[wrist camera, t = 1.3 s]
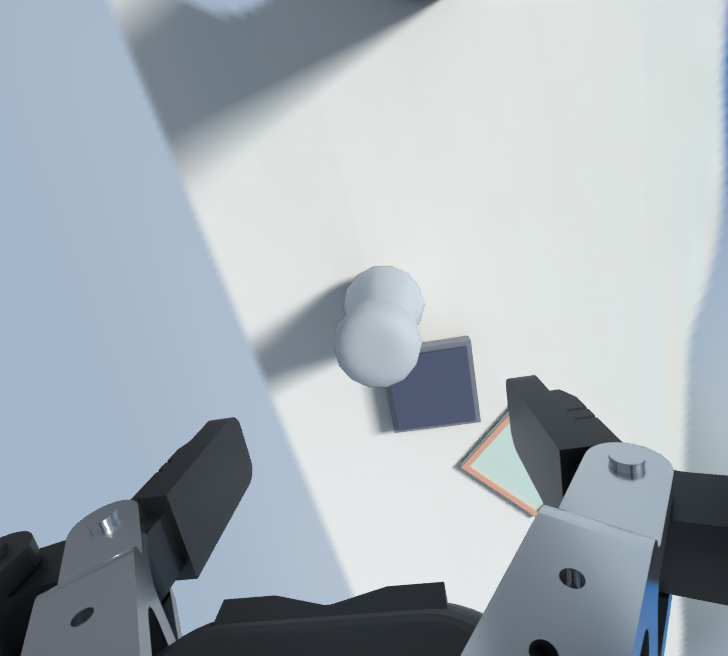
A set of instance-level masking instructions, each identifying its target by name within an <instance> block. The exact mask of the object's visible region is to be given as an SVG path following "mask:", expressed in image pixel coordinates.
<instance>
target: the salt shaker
mask: <svg viewBox="0 0 728 656" xmlns="http://www.w3.org/2000/svg"><path fill="white" fill-rule="evenodd" d="M424 305H425V304H424V300H423V296H422V293H421V289H420V287H419V285H418V284H417V283H416V282H415V280H414V279H413V278H412V277H411V275H410V274H409V273H407V272H405V271H402V270H400V269H398V268H395V267H393V266H373V267H371V268H370V269H368V270H366V271H364V272H362V273H360V274H358V275H357V276H356V277H355V279H354V280H353V282H352V283H351V284H350V286H349V287H348V288H347V290H346V296H345V302H344V310H345V313H346V315H345V316H344V318H343V319H342V320H341V322H340V323H339V324H338V326H337V329H336V335H335V342H334V350H335V353H336V356H337V360H338V363H339V366H340V367H341V369H342V370H343V371H344V372H345V373H346V374H347V375H348V376H349V377H350V378H351V379H352V380H354V381H356V382H358V383H361V384H363V385H365V386H367V387H388V386H390V385H393V384H395V383H397V382H399V381H401V380H404V379H405V378H406V377H407V375H408V374H409V373H410V372H411V370H412V369H413V368H414V367H415V365H416V363H417V360H418V356H419V352H420V348H421V344H422V342H421V338H420V335H419V331H418V327H417V326H418V324H419V323H420V321H421V317H422V313H423V309H424Z"/></svg>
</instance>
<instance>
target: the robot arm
mask: <svg viewBox="0 0 728 656" xmlns="http://www.w3.org/2000/svg"><path fill="white" fill-rule="evenodd" d="M506 391H507V400H508V410H509V419H510V428H511V435H512V439H513V443H514V446H515V449H516V452H517V454H518V456H519V458H520V460H521V461H522V463H523V465H524V467H525V469H526V471H527V473H528V475H529V477H530V479H531V481H532V483H533V484H534V486H535V488H536V490H537V492H538V494H539V496H540V498H541V500H542V502H543V504H544V505H543V506H542V507H541V508H540V510H539V512H538V513H537V515H536V517H535V519H534V521H533V523H532V525H531V526H530V528H529V530H528V532H527V534H526V536H525V538H524V539H523V541H522V543H521V545H520V547H519V549H518V550H517V552H516V554H515V556H514V558H513V560H512V562H511V563H510V565H509V567H508V569H507V571H506V573H505V574H504V576H503V578H502V580H501V582H500V584H499V586H498V587H497V589H496V591H495V593H494V595H493V597H492V598H491V600H490V602H489V604H488V606H487V608H486V610H485V611H484V613H480V612H478V611H476V610H474V609H470V608H467V607H464V606H461V605H457V604H452V603H448V602H447V596H446V591H445V585H444V582H436V583H423V584H411V585H399V586H387V587H384V588H381V589H378V590H375V591H371V592H368V593H365V594H362V595H359V596H356V597H353V598H350V599H347V600H344V601H341V602H338V603H335V604H331V605H321V604H316V603H311V602H306V601H301V600H295V599H290V598H285V597H280V596H263V597H251V598H239V599H227V600H224V601H223V603H222V606H221V608H220V610H219V613H218V614H217V617H216V619H215V621H214V622H212V623H209V624H206V625H204V626H202V627H200V628H197V629H195V630H194V631H192V632H190V633H188V634H186V635H184V636H183V637H182V633H181V627H180V622H179V617H178V611H177V605H176V600H175V596H174V594H173V591H172V589H171V587H172V585H173V583H174V582H175V580H186V579H197V578H198V577H199V575H200V573H201V571H202V570H203V568H204V566H205V564H206V562H207V561H208V559H209V557H210V555H211V553H212V551H213V549H214V547H215V546H216V544H217V542H218V540H219V539H220V537H221V535H222V533H223V531H224V530H225V528H226V526H227V524H228V522H229V520H230V519H231V517H232V515H233V513H234V511H235V509H236V508H237V506H238V504H239V502H240V501H241V499H242V497H243V495H244V493H245V491H246V490H247V488H248V486H249V484H250V482H251V478H252V463H251V459H250V456H249V452H248V449H247V446H246V443H245V439H244V436H243V433H242V429H241V426H240V423H239V421H238V420H237V419H236V418H234V417H233V418H225V419H218V420H211V421H208V422H207V423H206V424H205V426H204V427H203V428H202V429H201V430H200V431H199V432H198V433H197V434H196V435H195V436H194V438H193V439H192V440H191V441H190V442H188V443H187V444H185V445H184V446H182V447H181V448H179V449H178V450H177V451H176V452H175V453H174V454H173V455H172V456H171V458H170V459H169V460H168V462H167V463H165V464H164V465H163V466H162V467H161V468H160V469H159V472H157V473H155V474H154V475H153V477H152V478H151V479H150V480H149V481H148V482H147V483H146V484H145V485H144V486H143V487H142V488H141V489H140V490H139V492H137V493H136V495H135V496H134V497H133V498H132V499H131V500H122V501H117V502H114V503H111V504H108V505H106V506H103V507H102V508H99V509H97V510H96V511H94V512H92V513H91V514H89V515H88V516H86V517H85V518H83V519H82V520H81V521H80V522H78V523H77V524H76V525H75V526H74V527H73V528H72V530H71V531H70V532H69V534H68V536H67V539H66V540H65V541H62V542H59V543H56V544H52V545H49V546H46V547H43V548H40V549H39V547H38V546H37V543H36V541H35V539H34V537H33V535H32V534H31V533H30V532H28V531H21V532H16V533H12V534H9V535H6V536H3V537H1V538H0V656H664V652H665V645H666V637H667V630H668V623H669V615H670V608H671V601H672V595H677V596H682V597H687V598H692V599H698V600H703V601H708V602H713V603H718V604H723V605H728V476H726V475H713V474H701V473H689V472H681V471H676V470H673V467H672V465H671V463H670V462H669V461H668V460H667V459H666V458H665V457H663V456H662V455H661V454H659V453H657V452H655V451H653V450H651V449H649V448H646V447H643V446H640V445H635V444H630V443H623V442H622V441H621V440H620V439H619V438H617V437H616V436H615V435H614V434H613V433H612V432H611V431H610V430H609V429H608V428H607V427H606V426H605V425H604V424H603V423H602V422H601V421H600V420H599V419H598V418H595V415H594V414H593V413H592V412H591V411H590V410H589V409H587V408H586V406H585V405H584V404H583V403H582V402H581V401H580V400H579V399H578V398H577V397H575V396H573V395H571V394H568V393H566V392H564V391H562V390H552V391H549V390H548V389H547V387H546V386H545V385H544V384H543V383H542V382H541V381H540V380H539V379H538V377H537V376H535V375H531V376H524V377H517V378H510V379H507V381H506Z"/></svg>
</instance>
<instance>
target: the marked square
mask: <svg viewBox="0 0 728 656" xmlns="http://www.w3.org/2000/svg"><path fill="white" fill-rule="evenodd" d="M460 466H461V468H462V469H464V470H465V471H467V472H468V473H470V474H471V475H473V476H474V477H476V478H477V479H479V480H480V481H482V482H483V483H485V484H486V485H488V486H489V487H491V488H492V489H494V490H495V491H497V492H498V493H500V494H501V495H503V496H504V497H506V498H507V499H509V500H510V501H512V502H513V503H515V504H516V505H518V506H519V507H521V508H522V509H524V510H525V511H527V512H528V513H530V514H531V515H533V516H535V517H536V515H537V513H538V512H539V510H540V508H541V507H542V506H543V505H544V504H543V502H542V500H541V498H540V496H539V494H538V492H537V490H536V488H535V486H534V484H533V483H532V481H531V479H530V477H529V475H528V473H527V471H526V469H525V467H524V465H523V463H522V461H521V460H520V458H519V456H518V454H517V452H516V449H515V446H514V443H513V439H512V435H511V428H510V419H509V411H508V412H507V413H506V414H505V415H504V416H503V417H502V418H501V420H500V421H499V422H498V423H497V424H496V425H495V426H494V427H493V428H492V429H491V431H490V432H489V433H488V434H487V435H486V436H485V437H484V438H483V439H482V441H481V442H480V443H479V444H478V445H477V446H476V447H475V448H474V449H473V451H472V452H471V453H470V454H469V455H468V456H467V457H466V458H465V459H464V461H463V462H462V463H461V464H460Z"/></svg>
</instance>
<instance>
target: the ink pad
mask: <svg viewBox="0 0 728 656" xmlns="http://www.w3.org/2000/svg"><path fill="white" fill-rule="evenodd" d="M387 393H388V398H389V404H390V409H391V414H392V420H393V425H394V431H395V433H398V432H406V431H414V430H421V429H429V428H437V427H445V426H453V425H461V424H469V423H477V422H481V420H480V412H479V404H478V396H477V388H476V380H475V372H474V364H473V355H472V347H471V340H470V338H469V337H468V336H462V337H456V338H449V339H443V340H436V341H430V342H423V343H422V344H421V348H420V352H419V356H418V360H417V363H416V365H415V367H414V368H413V369H412V370H411V372H410V373H409V374H408V375H407V377H406V378H405V379H404V380H401V381H399V382H397V383H395V384H393V385H390V386H388V387H387Z"/></svg>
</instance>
